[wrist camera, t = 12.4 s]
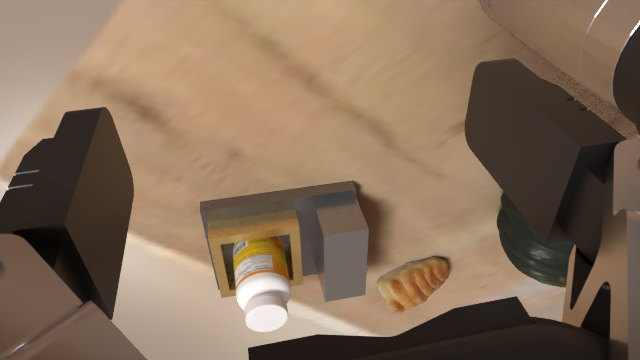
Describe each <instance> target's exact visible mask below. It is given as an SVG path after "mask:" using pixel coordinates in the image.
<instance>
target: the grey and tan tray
mask: <svg viewBox="0 0 640 360" xmlns="http://www.w3.org/2000/svg"><path fill="white" fill-rule="evenodd" d="M200 213H201V217H202V221H203V226H204V230H205V234H206V238H207V243H208V247H209V251H210V255H211V260H212V264H213V268H214V273H215V277H216V281H217V285H218V289H220V293H221V297H222V298H223V297H229V296H235V295H236V287H235V274H234V261H233V245H234V243H235V242H241V241H248V240H255V239H261V238H268V237H274V236H279V237H280V238H281V240H282V244H283V248H284V254H285V259H286V264H287V269H288V275H289V280H290V285H291V286H295V285H301V284H303V276H304V275H310V274H316V273H318V275H319V279H320V283H321V287H322V291H323V295H324V299H325V302H327V301H333V300H338V299H344V298H350V297H356V296H361V295H365V288H366V271H367V254H368V236H369V228H368V226H367V223H366V221H365V218H364V216H363V213H362V211H361V208H360V206H359V203H358V201H357V198H356V188H355V185H354V183H353V181H348V182H341V183H333V184H326V185H319V186H312V187H305V188H298V189H290V190H283V191H276V192H269V193H262V194H254V195H247V196H240V197H233V198H226V199H218V200H211V201H204V202H200Z"/></svg>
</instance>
